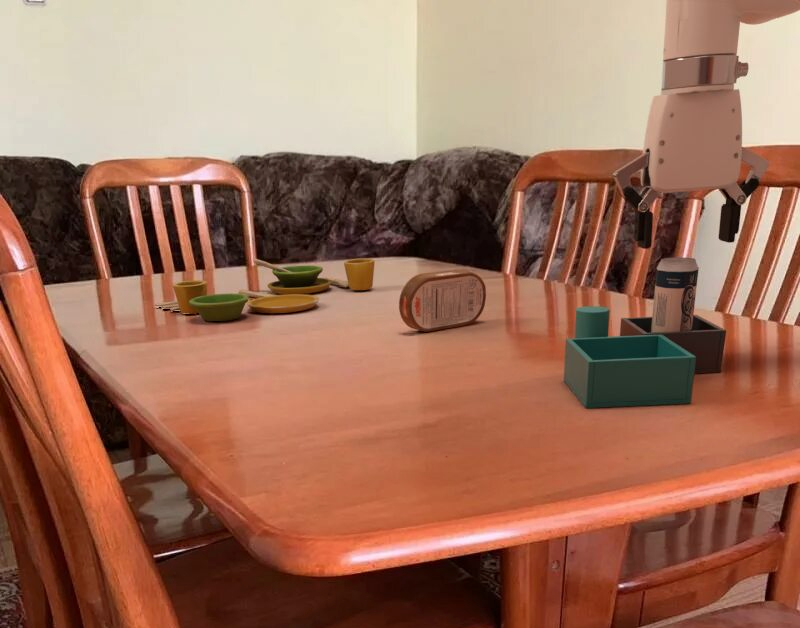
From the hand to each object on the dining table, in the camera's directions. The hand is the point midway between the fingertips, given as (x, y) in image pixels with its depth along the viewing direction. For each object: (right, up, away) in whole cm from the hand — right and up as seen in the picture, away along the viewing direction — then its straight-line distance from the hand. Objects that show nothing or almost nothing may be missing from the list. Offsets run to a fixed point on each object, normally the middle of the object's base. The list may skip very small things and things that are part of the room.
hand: (685, 244), depth 97 cm
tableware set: (-56, +10, +59) cm, 82 cm away
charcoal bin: (0, -13, +6) cm, 14 cm away
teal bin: (-8, -18, -4) cm, 20 cm away
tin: (-26, -2, +31) cm, 41 cm away
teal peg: (-10, -13, +7) cm, 17 cm away
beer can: (0, -13, +6) cm, 14 cm away
